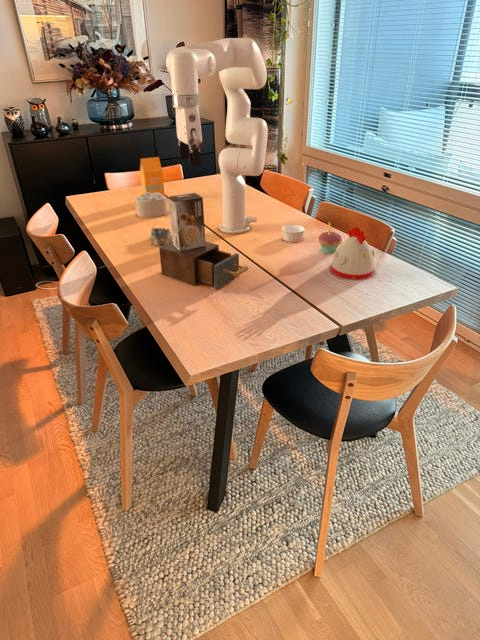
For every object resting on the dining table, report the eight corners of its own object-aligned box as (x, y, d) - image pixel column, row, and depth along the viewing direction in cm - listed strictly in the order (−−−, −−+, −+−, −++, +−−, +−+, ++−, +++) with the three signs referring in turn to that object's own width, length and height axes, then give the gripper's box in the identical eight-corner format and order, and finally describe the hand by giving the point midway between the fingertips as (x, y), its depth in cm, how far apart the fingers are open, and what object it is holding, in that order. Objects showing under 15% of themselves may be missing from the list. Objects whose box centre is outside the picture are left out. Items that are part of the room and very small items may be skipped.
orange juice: (143, 199, 223) (138, 157, 212) (160, 197, 226) (156, 155, 216) (147, 204, 217) (142, 160, 206) (165, 201, 220) (161, 158, 209)
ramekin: (276, 239, 179) (277, 228, 176) (290, 233, 184) (291, 222, 182) (294, 245, 173) (295, 234, 171) (308, 238, 179) (309, 227, 177)
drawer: (253, 280, 146) (253, 258, 142) (231, 294, 138) (231, 271, 134) (206, 266, 156) (205, 244, 152) (184, 278, 148) (182, 256, 144)
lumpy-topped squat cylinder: (169, 214, 204) (168, 194, 200) (142, 219, 199) (139, 199, 194) (160, 207, 212) (159, 189, 207) (133, 212, 206) (131, 193, 202)
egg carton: (171, 245, 174) (170, 235, 172) (151, 246, 173) (150, 236, 171) (171, 234, 183) (170, 225, 181) (152, 235, 182) (151, 226, 180)
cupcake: (335, 257, 163) (338, 225, 157) (313, 252, 167) (315, 220, 161) (343, 249, 170) (347, 218, 163) (322, 244, 173) (325, 214, 167)
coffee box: (198, 240, 153) (195, 191, 144) (206, 246, 148) (203, 197, 139) (172, 245, 149) (168, 196, 141) (179, 251, 144) (175, 201, 136)
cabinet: (219, 271, 154) (218, 244, 149) (195, 285, 146) (193, 257, 140) (186, 261, 161) (185, 235, 156) (161, 274, 153) (159, 247, 148)
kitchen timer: (346, 282, 147) (352, 238, 139) (323, 265, 158) (327, 223, 150) (381, 274, 152) (389, 231, 144) (356, 259, 162) (362, 218, 154)
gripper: (208, 103, 126) (211, 167, 135) (188, 96, 139) (192, 155, 149) (182, 105, 123) (187, 170, 133) (164, 98, 137) (169, 157, 146)
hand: (189, 162), depth 141 cm, fingers open, 9 cm apart
